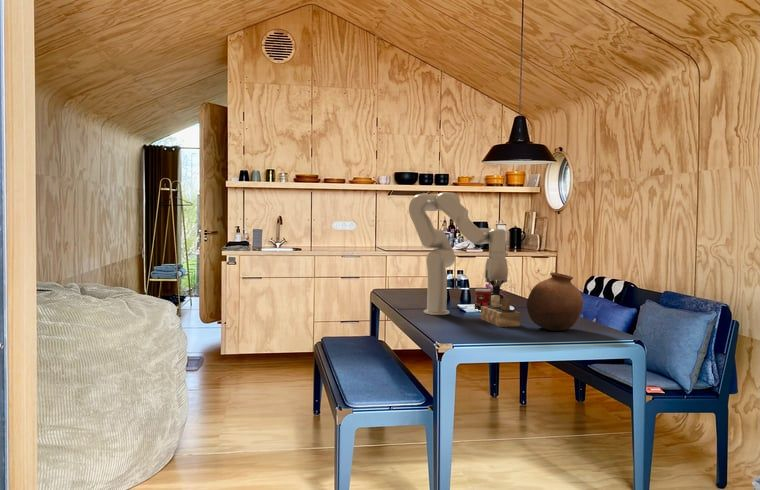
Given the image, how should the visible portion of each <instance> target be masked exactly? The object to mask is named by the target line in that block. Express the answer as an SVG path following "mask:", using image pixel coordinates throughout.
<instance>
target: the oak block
mask: <svg viewBox="0 0 760 490" xmlns="http://www.w3.org/2000/svg"><path fill="white" fill-rule="evenodd" d="M480 320H482V321H485V322H487V323H489V324H492V325H495V326H497V327H499V328H502V327H504V328H505V327H508V326H509V327H521V312H519V311H516V310H513V309H511V308H510V311H501V305H500V307H494V308H493V307H491V305H490V306H481V312H480Z"/></svg>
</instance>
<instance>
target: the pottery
mask: <svg viewBox="0 0 760 490" xmlns="http://www.w3.org/2000/svg"><path fill="white" fill-rule="evenodd" d="M550 276H551V277H550V278H547V279H543V280H542V281H540V282H538V283H536V284H535V285H534V286H533V287H532V289H531V290H530V293H529V294H528V297H527V300H526V311H527V313H528V316H529V318H530V320H531V322H533V323H534V324H535V325H537V326H538V327H541V328H543V329H545V330H548V331H554V332H555V331H558V332H559V331H564V330H568V329H570V328H572V327H573V326H574V325H575V324H576V322H577V321H578V319H579V318H580V315H581V314H582V311H583V308H584V298H583V295H582V292H581V291H580V290H579V289H578V288H577V287H576V286H575V285H574V284H573V283H572V282H571V281H572V280H573V279H574V276H571V275H567V274H564V273H559V272H553V271H551V272H550Z"/></svg>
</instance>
